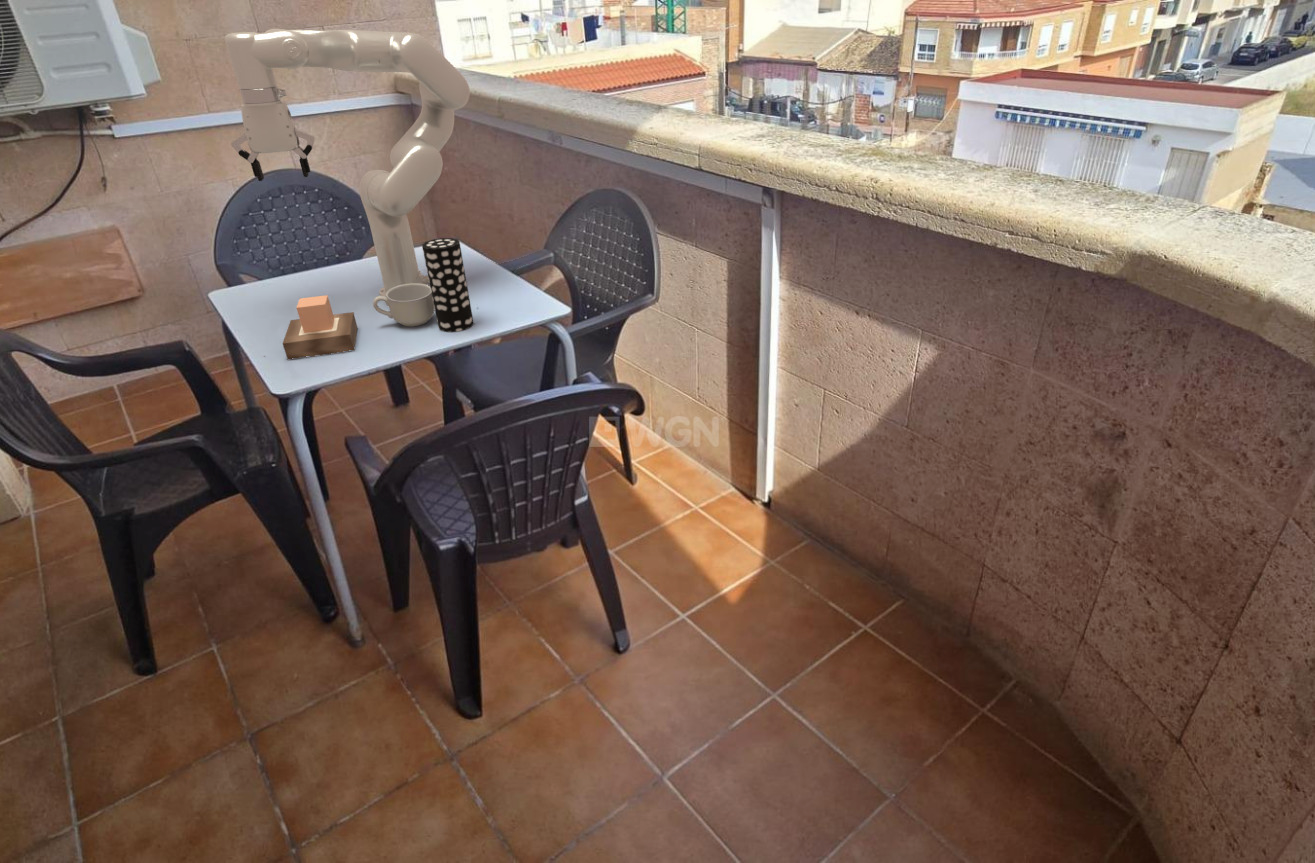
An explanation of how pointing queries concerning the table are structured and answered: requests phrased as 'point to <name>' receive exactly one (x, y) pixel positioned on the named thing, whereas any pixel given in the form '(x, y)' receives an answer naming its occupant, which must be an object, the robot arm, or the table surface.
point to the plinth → (321, 338)
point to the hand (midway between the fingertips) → (284, 177)
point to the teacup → (408, 304)
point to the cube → (315, 313)
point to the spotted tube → (448, 284)
